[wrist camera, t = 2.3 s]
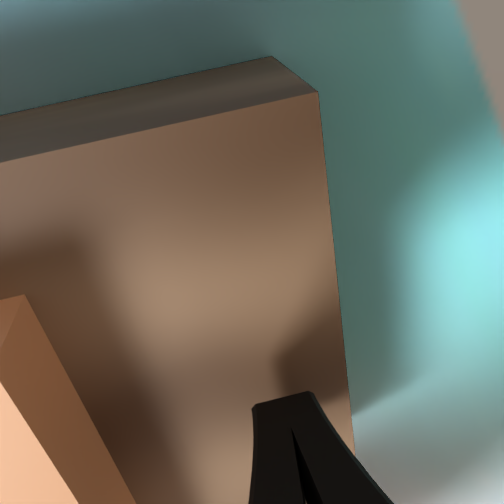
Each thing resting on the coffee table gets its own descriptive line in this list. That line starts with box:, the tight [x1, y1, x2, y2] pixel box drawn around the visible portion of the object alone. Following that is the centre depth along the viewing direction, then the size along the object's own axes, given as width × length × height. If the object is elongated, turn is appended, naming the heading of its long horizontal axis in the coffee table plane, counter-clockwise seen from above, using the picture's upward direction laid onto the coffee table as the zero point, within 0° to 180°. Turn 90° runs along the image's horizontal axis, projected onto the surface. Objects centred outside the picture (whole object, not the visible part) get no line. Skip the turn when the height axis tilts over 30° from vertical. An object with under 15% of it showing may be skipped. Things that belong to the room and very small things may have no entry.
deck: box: [0, 56, 355, 504], centre depth 13 cm, size 14×16×4 cm
